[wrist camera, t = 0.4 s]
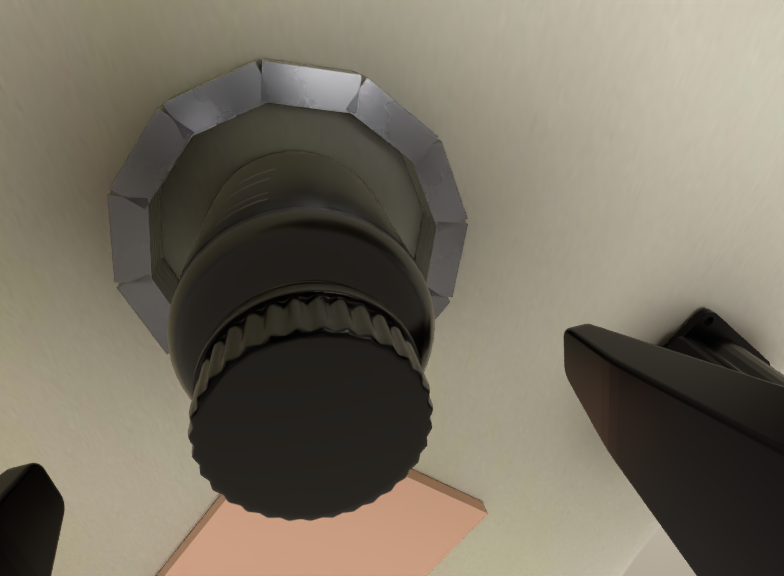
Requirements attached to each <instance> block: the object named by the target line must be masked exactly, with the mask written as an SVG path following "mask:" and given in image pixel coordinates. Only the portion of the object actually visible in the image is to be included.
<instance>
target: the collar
mask: <svg viewBox="0 0 784 576" xmlns="http://www.w3.org/2000/svg"><path fill="white" fill-rule="evenodd" d="M265 103H275V104H283V105H291V106H298V107H306V108H314V109H322V110H330V111H338V112H346V113H351V114H353V115H354V116H355V117H356V118H358V119H359V120H360V121H362V122H363V123H364V124H365V125H367V126H368V127H369V128H370V129H372V130H373V131H374V132H376V133H377V134H378V135H379V136H381V137H382V138H383V139H385V140H386V141H387V142H388V143H390V144H391V145H392V146H393V147H395V148H396V149H397V150H399V151H400V152H401V153H402V156H403V159H404V161H405V164H406V166H407V169H408V172H409V174H410V177H411V180H412V182H413V185H414V187H415V190H416V193H417V195H418V198H419V200H420V203H421V206H422V208H423V217H422V222H421V228H420V234H419V240H418V245H417V251H416V257H415V262H416V264H417V265H418V267H419V269H420V271H421V273H422V275H423V277H424V279H425V281H426V284H427V286H428V289H429V292H430V295H431V299H432V303H433V309H434V319H436V318H437V317H438V316H439V314H440V313H441V312H442V311H443V310H444V308H445V307H446V306H447V305H448V304H449V303H450V301H449V299H448V298H447V297H453V292H454V287H455V282H456V278H457V273H458V268H459V263H460V259H461V254H462V249H463V245H464V240H465V235H466V230H467V226H468V224H467V223H466V222H465V221H464V220H465V219H468V218H467V215H466V212H465V209H464V206H463V204H462V201H461V198H460V195H459V192H458V189H457V186H456V183H455V180H454V177H453V174H452V171H451V168H450V165H449V162H448V159H447V156H446V153H445V151H444V148H443V145H442V142H441V141H440V140H438V139H437V137H438V136H437V135H436V134H434V133H433V132H432V131H431V130H430V129H428V128H427V127H426V126H425V125H424V124H422V123H421V122H420V121H419V120H418V119H416V118H415V117H414V116H413V115H412V114H410V113H409V112H408V111H407V110H406V109H404V108H403V107H402V106H401V105H400V104H398V103H397V102H396V101H395V100H394V99H392V98H391V97H390V96H389V95H388V94H386V93H385V92H384V91H383V90H381V89H380V88H379V87H378V86H377V85H375V84H374V83H373V82H372V81H371V80H369V79H368V78H367V77H365V76H363V75H360V74H358V73H356V72H354V71H349V70H342V69H335V68H328V67H321V66H314V65H307V64H300V63H294V62H287V61H280V60H273V59H266V58H263V60H262V68H261V66H260V64H259V62H258V60H257V59H256V60H254V61H251V62H249V63H247V64H245V65H243V66H240V67H238V68H236V69H234V70H231V71H229V72H227V73H225V74H223V75H220V76H218V77H216V78H214V79H211V80H209V81H207V82H205V83H203V84H200V85H198V86H196V87H194V88H191V89H189V90H187V91H185V92H183V93H180V94H178V95H176V96H174V97H172V98H171V99H169V100H167V101H166V102H164V103H163V105H161V106H160V107H158V108H157V110H156V111H155V113H154V115H153V116H152V118H151V120H150V121H149V123H148V125H147V126H146V128H145V130H144V131H143V133H142V135H141V136H140V138H139V140H138V141H137V143H136V145H135V146H134V148H133V150H132V151H131V153H130V155H129V156H128V158H127V160H126V161H125V163H124V165H123V166H122V168H121V170H120V171H119V173H118V175H117V176H116V178H115V180H114V181H113V183H112V185H111V186H110V188H109V189H110V190H112V191H111V192H110V193H109V194H108V207H109V219H110V232H111V244H112V257H113V269H114V281H115V282H119V285H118V287H117V289H118V290H119V291H120V293H121V294H122V295H123V297H124V298H125V299H126V301H127V302H128V303H129V305H130V306H131V307H132V309H133V310H134V311H135V313H136V314H137V315H138V316H139V318H140V319H141V320H142V322H143V323H144V324H145V326H146V327H147V328H148V330H149V331H150V332H151V334H152V335H153V336H154V338H155V339H156V340H157V342H158V343H159V344H160V346H161V347H162V348H163V350H164V351H165V352H166V353H167V354H168V353H169V347H168V340H167V325H168V316H169V311H170V307H171V303H172V299H173V296H174V292H175V290H176V287H177V284H178V281H179V280H178V279H177V277H176V276H175V274H174V273H173V272H172V270H171V269H170V267H169V266H168V264H167V263H166V261H165V260H164V258H163V254H162V228H161V202H160V188H161V186H162V185H163V183H164V181H165V180H166V178H167V177H168V175H169V173H170V172H171V170H172V169H173V167H174V166H175V164H176V162H177V161H178V159H179V158H180V156H181V154H182V153H183V151H184V150H185V148H186V146H187V145H188V143H189V142H190V140H191V138H192V137H193V136H194V135H196V134H199V133H201V132H203V131H205V130H207V129H210V128H212V127H214V126H216V125H219V124H221V123H223V122H225V121H227V120H230V119H232V118H234V117H236V116H239V115H241V114H243V113H245V112H247V111H250V110H252V109H254V108H256V107H259V106H261V105H263V104H265Z"/></svg>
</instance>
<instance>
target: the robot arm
mask: <svg viewBox="0 0 784 576" xmlns="http://www.w3.org/2000/svg"><path fill="white" fill-rule="evenodd" d="M564 366H565V372H566V376H567V378H568V381H569V382H570V384H571V386H572V388H573V390H574V391H575V393H576V395H577V397H578V399H579V400H580V402H581V404H582V406H583V408H584V409H585V411H586V413H587V415H588V417H589V418H590V420H591V422H592V424H593V426H594V427H595V429H596V431H597V433H598V435H599V436H600V438H601V440H602V442H603V443H604V445H605V447H606V448H607V450H608V452H609V453H610V455H611V456H612V458H613V459H614V460H615V462H616V463H617V465H618V466H619V468H620V469H621V470H622V472H623V473H624V475H625V476H626V477H627V479H628V480H629V482H630V483H631V484H632V486H633V487H634V489H635V490H636V491H637V493H638V494H639V496H640V497H641V498H642V500H643V501H644V503H645V504H646V505H647V507H648V508H649V510H650V511H651V512H652V514H653V515H654V517H655V518H656V519H657V521H658V522H659V524H660V525H661V526H662V528H663V529H664V530H665V532H666V533H667V535H668V536H669V538H670V539H671V540H672V542H673V543H674V545H675V546H676V547H677V549H678V550H679V552H680V553H681V554H682V556H683V557H684V559H685V560H686V561H687V563H688V564H689V566H690V567H691V568H692V570H693V571H694V573H695V574H696V575H697V576H784V375H783V374H781V373H780V372H778V371H777V370H775V369H774V368H772V367H771V366H770V363H769V361H768V360H767V359H765V358H764V357H763V356H762V355H761V354H760V353H759V352H758V351H757V350H756V349H755V348H753V347H752V346H751V345H750V344H749V343H748V342H747V341H746V340H745V339H744V338H742V337H741V336H740V335H739V334H738V333H737V332H736V331H735V330H734V329H733V328H731V327H730V326H729V325H728V324H727V323H726V322H725V321H724V320H723V319H722V318H721V317H719V316H718V315H717V314H716V313H714V312H713V311H711V310H709V309H703V310H701V311H700V312H698V313H697V314H696V315H695V316H694V317H693V318H692V319H691V320H690V321H689V322H688V323H687V324H686V325H685V326H684V327H683V328H682V329H681V330H680V331H679V332H678V333H677V334H676V335H675V336H674V337H673V338H672V339H671V340H670V341H669V342H668V343H667V344H666V345H665V346H664V347H660V346H656V345H653V344H650V343H647V342H644V341H641V340H638V339H635V338H632V337H629V336H625V335H622V334H619V333H616V332H613V331H610V330H607V329H604V328H601V327H597V326H594V325H591V324H583V325H579V326H575V327H571V328H568V329H567V330H566V331H565V333H564ZM63 516H64V501H63V498H62V496H61V494H60V492H59V491H58V489H57V488H56V486H55V485H54V483H53V481H52V480H51V478H50V477H49V475H48V474H47V472H46V471H45V469H44V468H43V467H42V466H41V465H40V464H38V463H30V464H26V465H22V466H18V467H14V468H10V469H8V470H6V471H5V472H4V473H2V474H1V475H0V576H51V574H52V569H53V564H54V559H55V555H56V550H57V545H58V540H59V535H60V531H61V526H62V521H63Z"/></svg>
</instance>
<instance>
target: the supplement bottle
mask: <svg viewBox="0 0 784 576" xmlns="http://www.w3.org/2000/svg"><path fill="white" fill-rule="evenodd" d="M434 331H435V319H434V309H433V303H432V299H431V295H430V292H429V289H428V286H427V284H426V281H425V279H424V277H423V275H422V273H421V271H420V269H419V267H418V265H417V264H416V262H415V260H414V259H413V257H412V256H411V254H410V252H409V251H408V249H407V247H406V246H405V244H404V243H403V241H402V239H401V238H400V236H399V235H398V233H397V231H396V230H395V228H394V227H393V225H392V223H391V222H390V220H389V219H388V217H387V215H386V214H385V212H384V211H383V209H382V207H381V206H380V204H379V203H378V201H377V199H376V198H375V196H374V195H373V193H372V192H371V191H370V189H369V188H368V187H367V185H366V184H365V183H364V182H363V181H362V180H361V179H360V178H359V177H358V176H357V175H356V174H355V173H354V172H352V171H351V170H350V169H348V168H347V167H345V166H344V165H342V164H341V163H339V162H337V161H335V160H333V159H330V158H328V157H325V156H322V155H319V154H314V153H309V152H300V151H289V152H280V153H274V154H270V155H267V156H264V157H261V158H259V159H256V160H254V161H252V162H250V163H248V164H247V165H245V166H244V167H242V168H241V169H239V170H238V171H237V172H236V173H235V174H233V175H232V176H231V177H230V178H229V179H228V180H227V182H226V183H225V184H224V185H223V187H222V188H221V189H220V191H219V192H218V194H217V195H216V197H215V199H214V201H213V203H212V205H211V207H210V209H209V211H208V213H207V216H206V218H205V220H204V223H203V225H202V227H201V230H200V232H199V234H198V237H197V239H196V241H195V244H194V246H193V248H192V251H191V253H190V256H189V258H188V260H187V263H186V265H185V267H184V270H183V272H182V274H181V277H180V279H179V281H178V284H177V287H176V290H175V292H174V296H173V299H172V303H171V307H170V311H169V316H168V325H167V340H168V347H169V354H170V358H171V362H172V365H173V368H174V371H175V373H176V376H177V378H178V380H179V382H180V384H181V385H182V387H183V389H184V391H185V392H186V393H187V395H188V396H189V398H190V399H191V401H192V402H191V406H190V411H189V415H190V424H189V429H188V438H189V440H190V442H191V443H192V444H193V446H192V457H193V458H194V460H195V461H196V462H197V463H198V464H199V465H200V474H201V475H202V476H203V477H204V478H206V479H207V480H209V481H210V484H211V487H212V489H213V490H214V491H216V492H218V493H220V494H222V495H224V496H225V498H226V500H227V501H228V502H229V503H232V504H236V505H240V506H241V507H243V509H244V510H246V511H247V512H253V513H260V514H261V515H263V516H265V517H267V518H282V519H284V520H287V521H293V520H299V519H303V520H308V521H313V520H316V519H319V518H333V517H336V516H338V515H340V514H342V513H348V512H354V511H355V510H357V509H358V508H360V507H361V506H363V505H367V504H371V503H373V502H375V501H376V500H377V499H378V498H379V497H380V496H381V495H383V494H386V493H388V492H391V490H392V489H393V488H394V486H395V485H396V484H397V483H398V482H400V481H402V480H403V479H405V478H406V477H407V475H408V473H409V470H410V469H411V468H412V467H414V466H415V465H416V464H417V463H418V461H419V457H420V453H421V452H422V451H423V450H424V449H425V447H426V446H427V436H428V434H429V433H430V431H431V429H432V422H431V419H430V416H431V414H432V411H433V404H432V401H431V399H430V396H429V394H430V388H429V384H428V381H427V379H426V377H425V374H424V371H425V368H426V366H427V364H428V360H429V357H430V354H431V350H432V345H433V340H434Z"/></svg>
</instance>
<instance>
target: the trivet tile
mask: <svg viewBox="0 0 784 576" xmlns="http://www.w3.org/2000/svg"><path fill="white" fill-rule="evenodd" d="M487 514H488V513H487V510H486V508H485V506H484V503H483V502H481V501H479V500H477V499H475V498H473V497H471V496H469V495H466V494H464V493H462V492H460V491H458V490H456V489H453V488H451V487H449V486H447V485H445V484H443V483H441V482H438V481H436V480H434V479H432V478H430V477H428V476H425V475H423V474H421V473H419V472H417V471H415V470H413V469H410V470H409V473H408V475H407V477H406V478H405V479H403V480H402V481H400V482H398V483H397V484H396V485H395V486H394V488H393V489H392V490H391V492H388V493H386V494H383V495H381V496H380V497H379V498H378V499H377V500H376V501H375V502H373V503H371V504H367V505H363V506H361V507H360V508H358V509H357V510H355V511H354V512H348V513H342V514H340V515H338V516H336V517H333V518H319V519H316V520H313V521H308V520H303V519H299V520H293V521H287V520H284V519H282V518H267V517H265V516H263V515H261V514H260V513H253V512H247V511H246V510H244V509H243V507H241V506H240V505H236V504H232V503H229V502H228V501H227V500H226V498H225V496H224V495H222V494H221V495H220V496H219V498H218V499H217V500H216V501H215V503H214V504H213V505H212V506H211V508H210V509H209V510H208V512H207V513H206V514H205V515H204V517H203V518H202V519H201V520H200V522H199V523H198V524H197V525H196V527H195V528H194V529H193V530H192V532H191V533H190V534H189V535H188V537H187V538H186V539H185V540H184V542H183V543H182V544H181V545H180V547H179V548H178V549H177V550H176V552H175V553H174V554H173V555H172V557H171V558H170V559H169V560H168V562H167V563H166V564H165V565H164V567H163V568H162V569H161V570H160V572H159V573H158V574H157V575H156V576H427V575H428V574H429V573H430V572H431V571H432V570H433V569H434V568H435V567H436V566H437V565H438V564H439V563H440V562H441V561H442V560H443V559H444V558H445V557H446V556H447V555H448V554H449V553H450V552H451V550H452V549H453V548H454V547H455V546H456V545H457V544H458V543H459V542H460V541H461V540H462V539H463V538H464V537H465V536H466V535H467V534H468V533H469V532H470V531H471V530H472V529H473V528H474V527H475V526H476V525H477V524H478V523H479V522H480V521H481V520H482V519H483V518H484V517H485V516H486V515H487Z"/></svg>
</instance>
